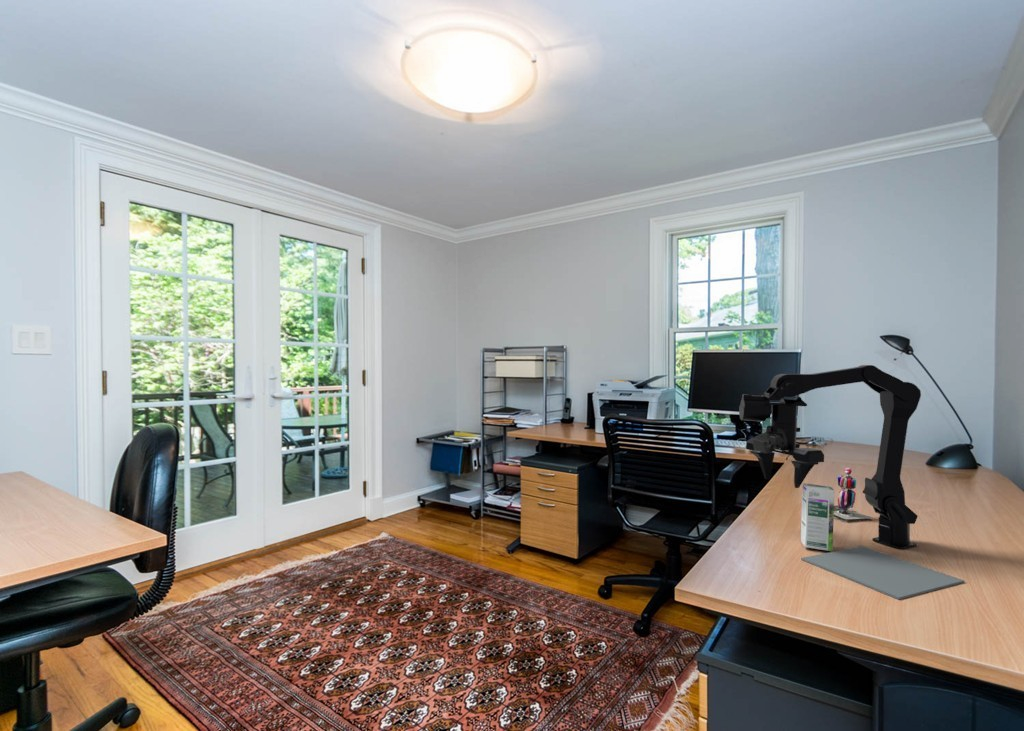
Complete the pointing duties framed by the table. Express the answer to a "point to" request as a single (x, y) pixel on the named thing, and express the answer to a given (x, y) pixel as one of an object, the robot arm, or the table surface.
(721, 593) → the table surface
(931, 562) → the table surface
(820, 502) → the syrup box
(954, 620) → the table surface
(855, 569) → the topple mat
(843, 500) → the statue
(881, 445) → the robot arm
